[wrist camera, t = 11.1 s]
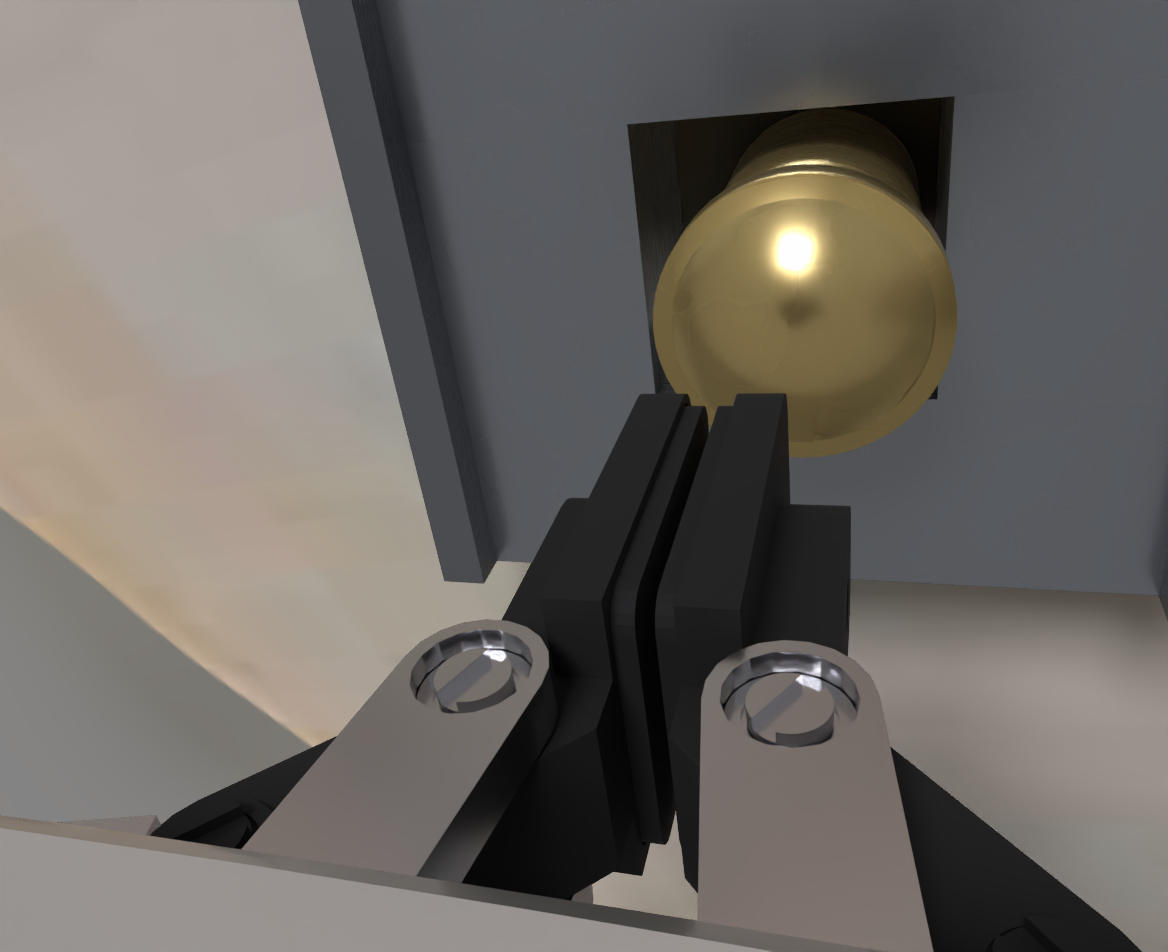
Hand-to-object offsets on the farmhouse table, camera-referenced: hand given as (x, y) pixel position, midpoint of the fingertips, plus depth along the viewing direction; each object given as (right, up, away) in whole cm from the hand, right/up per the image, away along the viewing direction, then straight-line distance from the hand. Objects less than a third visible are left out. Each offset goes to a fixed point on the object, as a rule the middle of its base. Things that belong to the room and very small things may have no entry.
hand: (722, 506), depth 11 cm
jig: (+3, +6, +9) cm, 12 cm away
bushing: (+3, +6, +9) cm, 12 cm away
